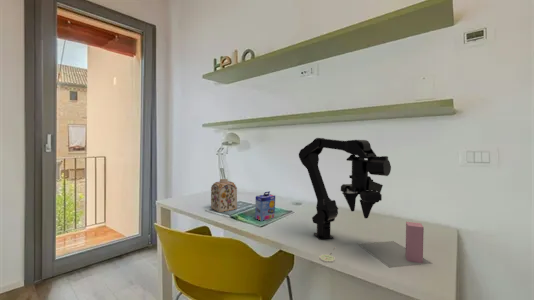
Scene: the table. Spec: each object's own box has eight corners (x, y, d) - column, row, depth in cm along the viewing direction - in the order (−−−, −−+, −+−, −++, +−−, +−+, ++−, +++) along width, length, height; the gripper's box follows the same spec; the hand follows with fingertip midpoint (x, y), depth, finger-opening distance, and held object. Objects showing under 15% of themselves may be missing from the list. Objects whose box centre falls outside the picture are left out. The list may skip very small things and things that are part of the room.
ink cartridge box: (261, 221, 126) (261, 193, 126) (254, 219, 131) (254, 191, 130) (275, 218, 133) (275, 190, 133) (268, 215, 137) (268, 189, 137)
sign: (342, 246, 96) (333, 262, 83) (342, 249, 96) (332, 265, 83) (329, 244, 98) (317, 258, 85) (329, 246, 98) (317, 261, 85)
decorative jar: (210, 208, 152) (210, 178, 151) (227, 205, 159) (227, 177, 158) (219, 212, 142) (219, 181, 142) (237, 209, 149) (237, 179, 149)
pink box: (407, 260, 84) (408, 225, 84) (405, 255, 88) (406, 221, 88) (422, 263, 83) (423, 227, 82) (420, 257, 87) (421, 223, 86)
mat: (357, 244, 98) (357, 243, 98) (393, 241, 101) (393, 240, 101) (389, 268, 80) (389, 267, 80) (432, 264, 83) (432, 263, 83)
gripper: (396, 176, 86) (395, 221, 87) (365, 170, 105) (364, 207, 105) (366, 176, 84) (365, 222, 85) (340, 170, 102) (339, 208, 103)
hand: (359, 214), depth 94 cm, fingers open, 9 cm apart
